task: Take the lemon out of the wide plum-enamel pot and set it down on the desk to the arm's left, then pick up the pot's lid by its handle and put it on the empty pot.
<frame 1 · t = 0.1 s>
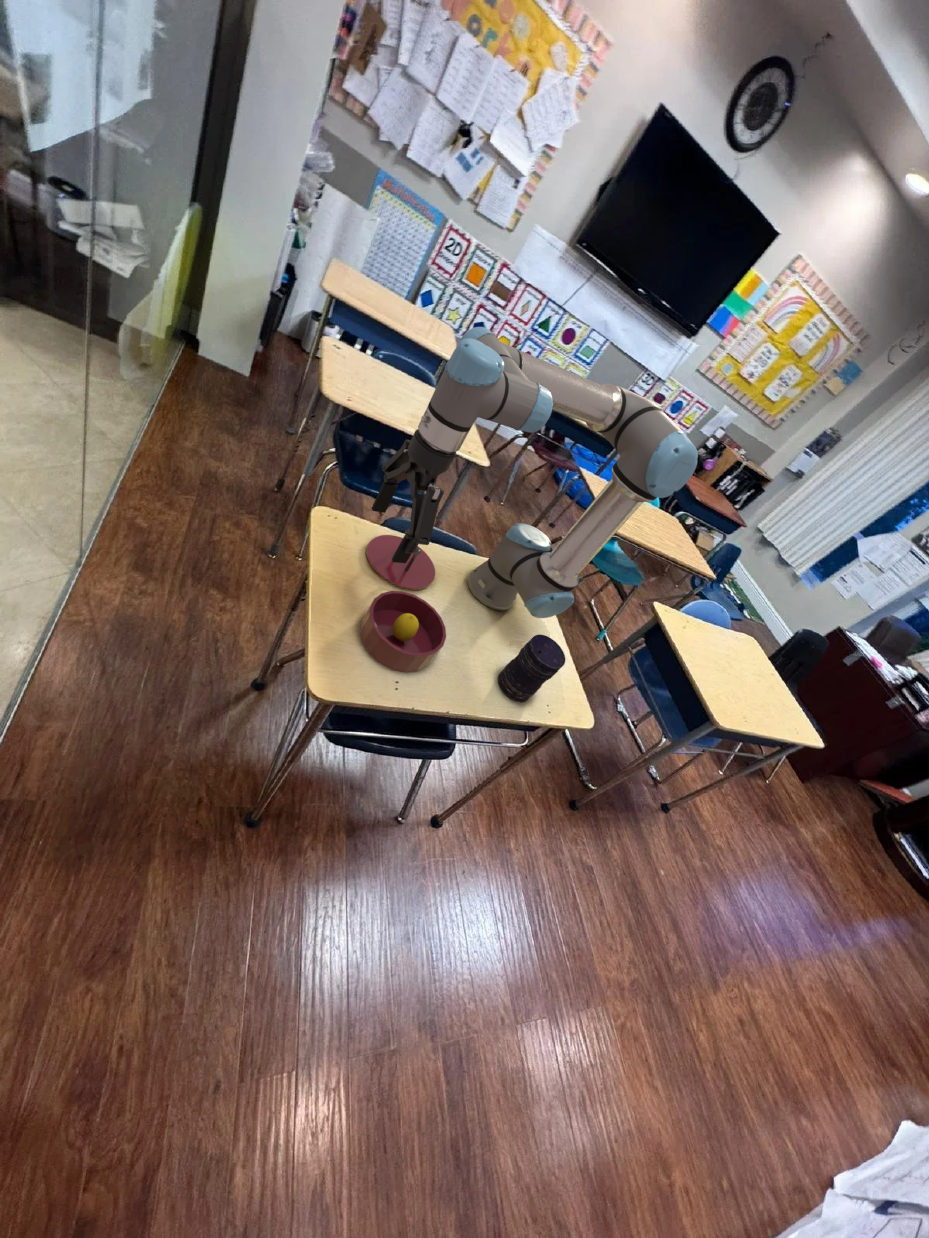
hand: (388, 535, 97), 28 cm above the table, tool pointing down, fingers open, 13 cm apart
storage jar: (513, 686, 129), on the table
pot: (398, 638, 120), on the table
lemon: (398, 638, 120), resting on pot
lid: (401, 562, 138), point 1 cm above the table
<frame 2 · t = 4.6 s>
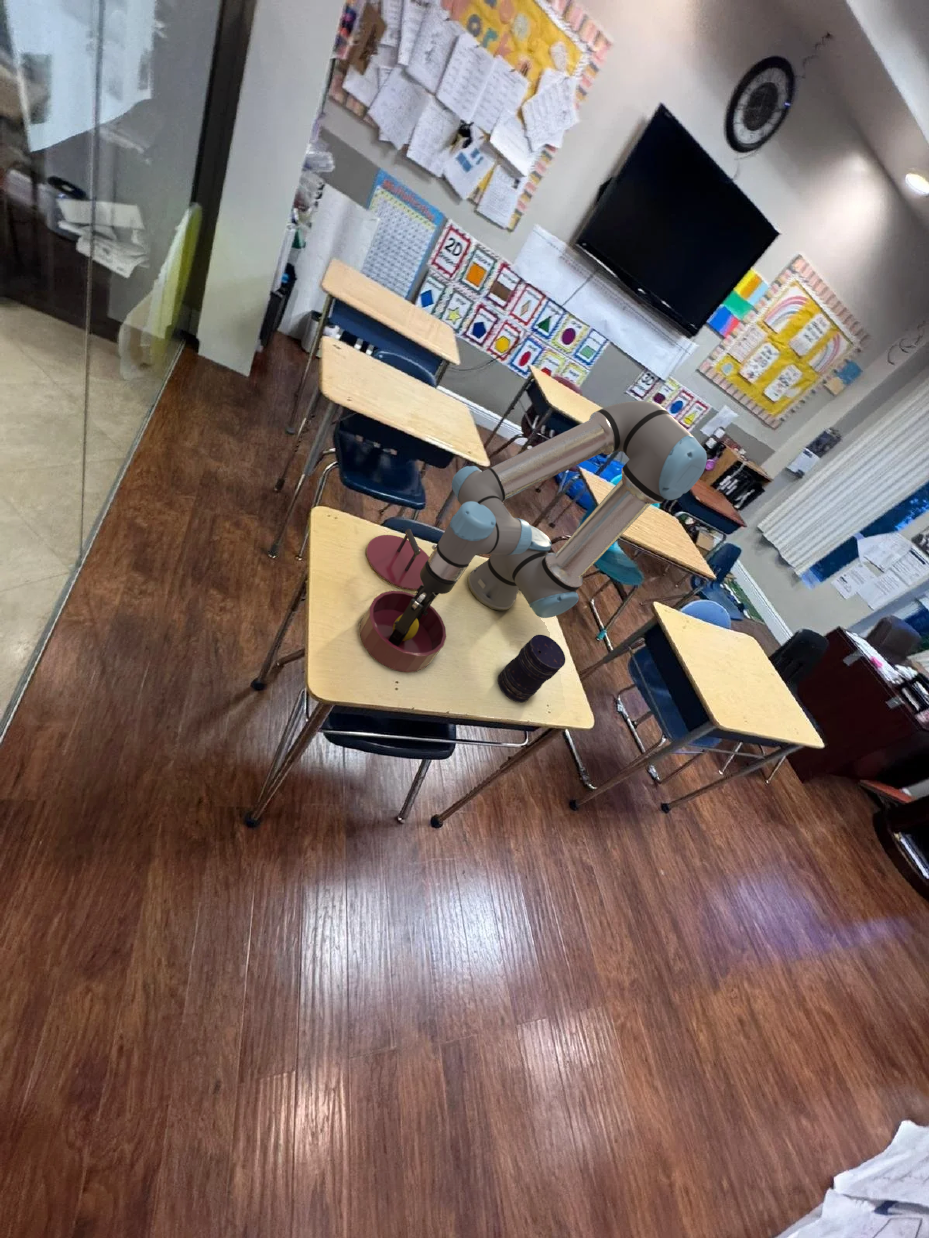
hand: (399, 636, 119), 1 cm above the table, tool pointing down, fingers closed on lemon, 5 cm apart
lemon: (398, 638, 120), resting on pot, touching gripper
everything else where it was.
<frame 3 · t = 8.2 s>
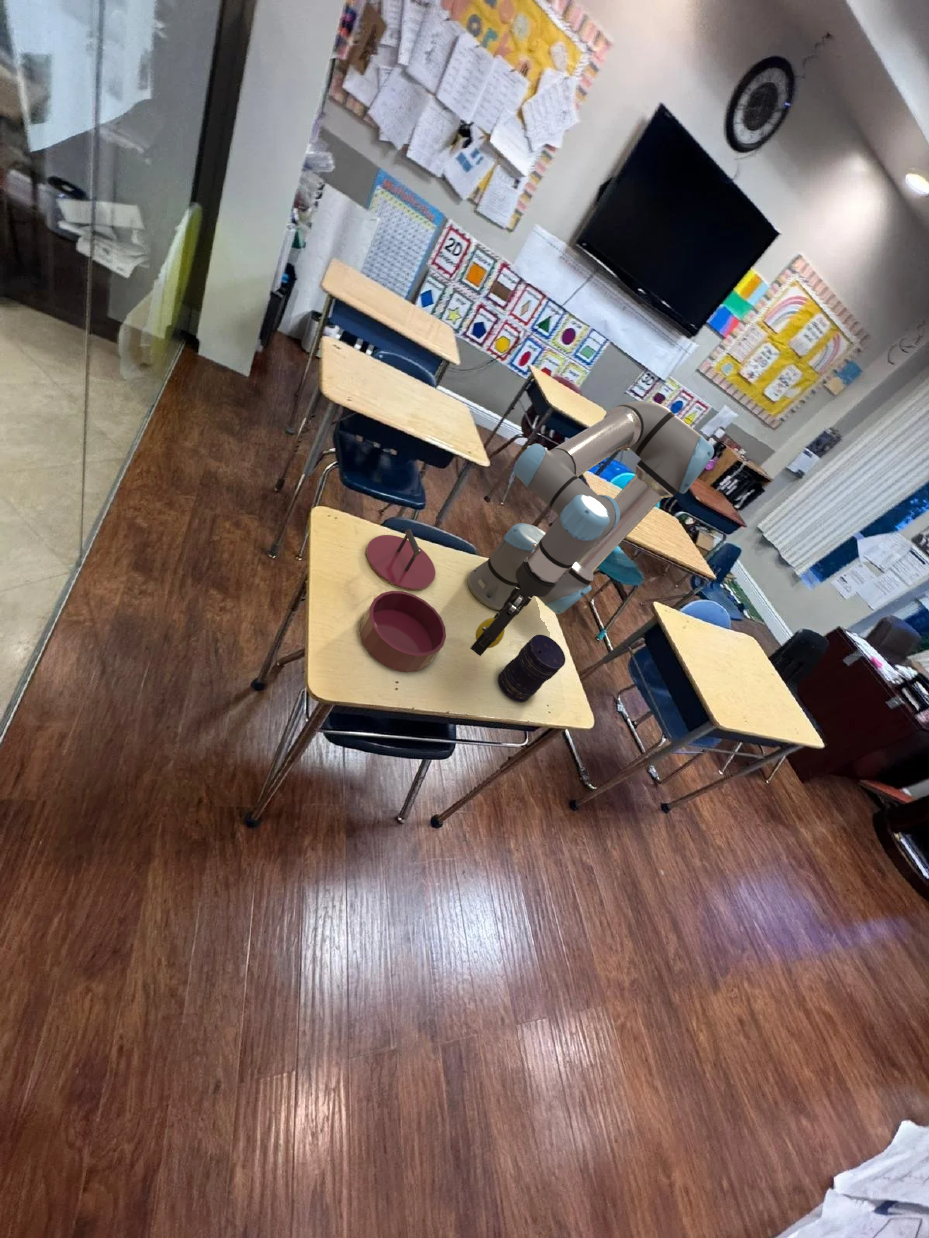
hand: (481, 643, 110), 15 cm above the table, tool pointing down, fingers closed on lemon, 5 cm apart
lemon: (480, 645, 110), point 14 cm above the table, touching gripper
everything else where it was.
when the fingers open (0 cm above the table, at t = 11.7 s): lemon stays where it is, on the table.
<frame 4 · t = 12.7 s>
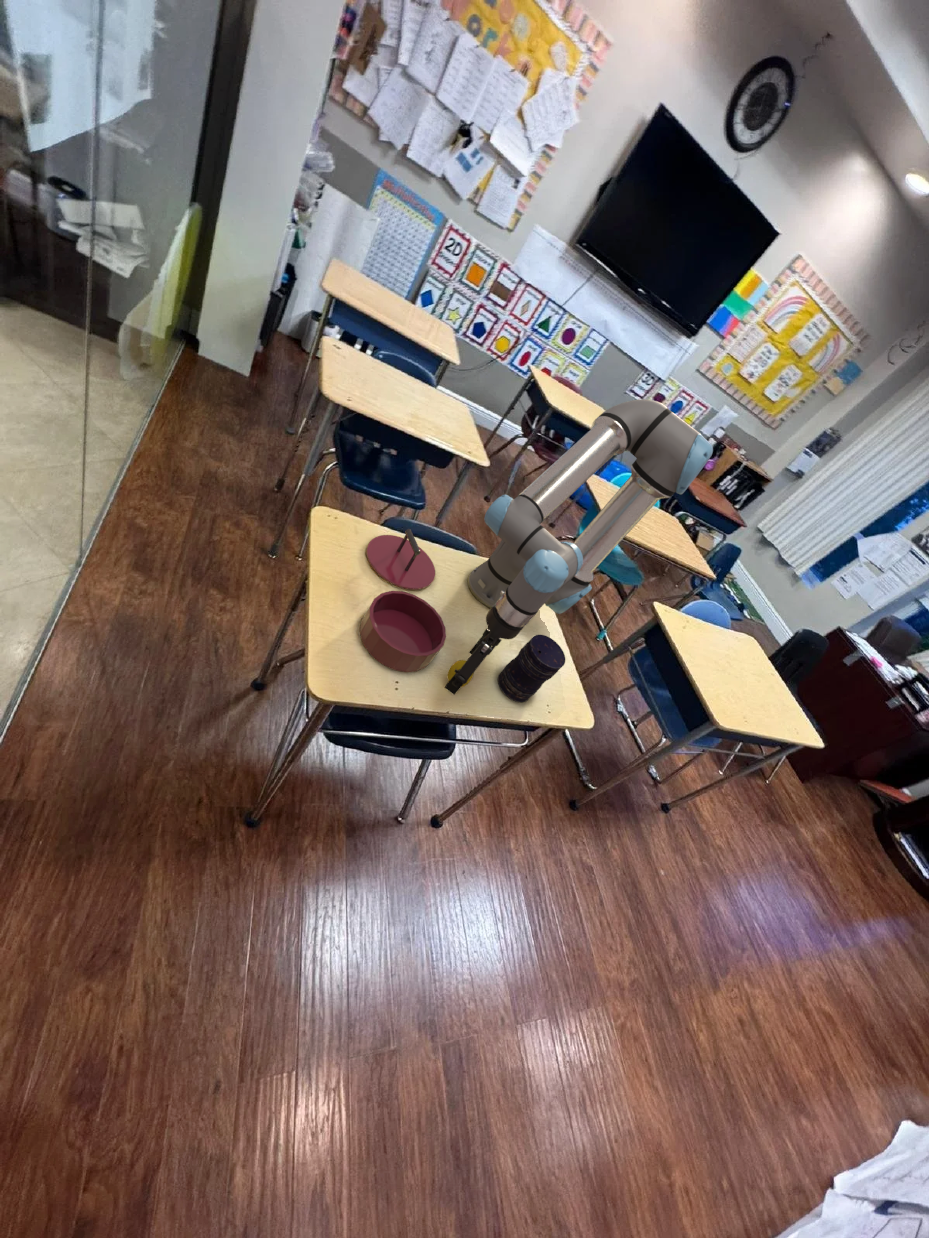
hand: (462, 672, 117), 4 cm above the table, tool pointing down, fingers open, 13 cm apart
lemon: (452, 683, 119), on the table
everything else where it was.
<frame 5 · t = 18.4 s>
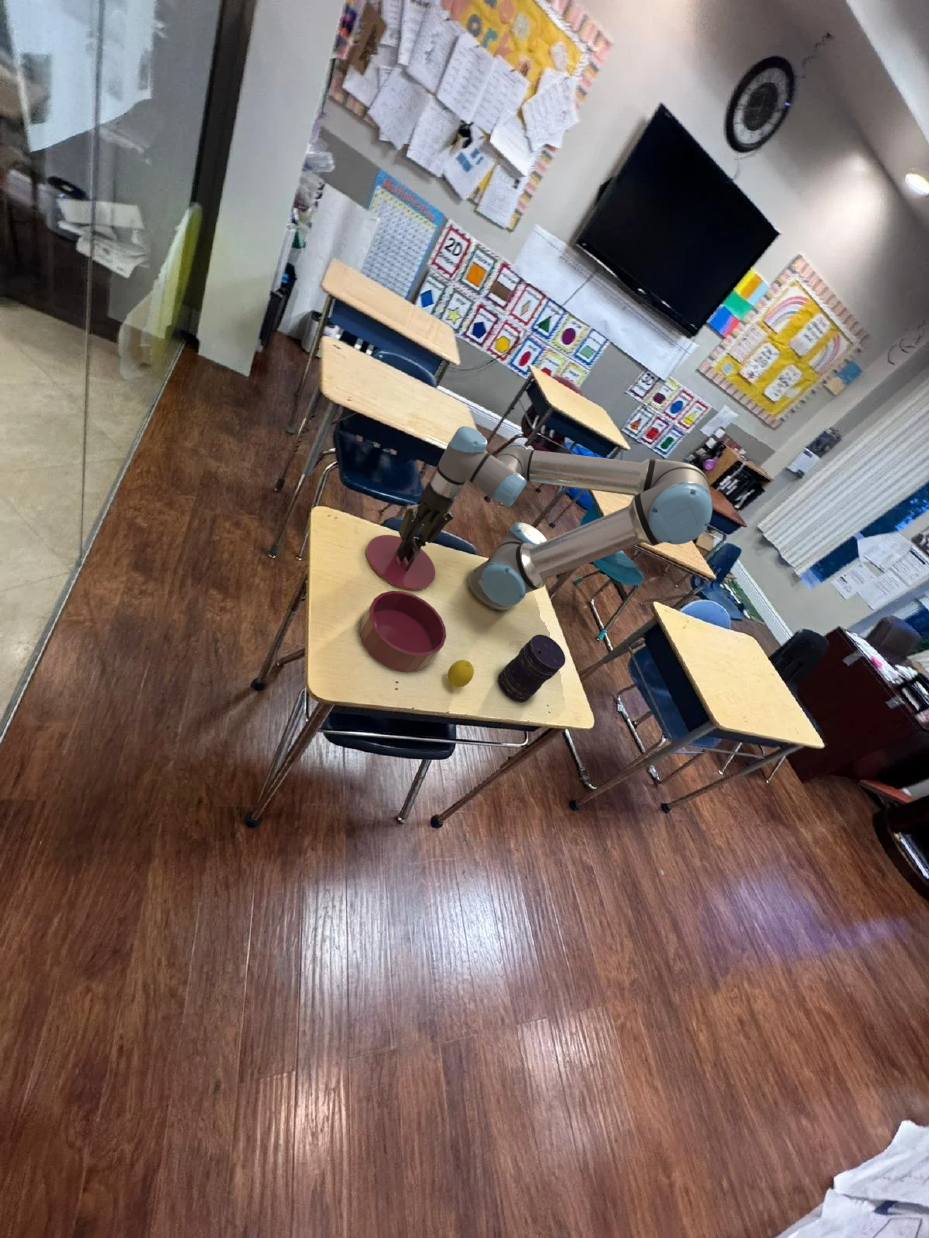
hand: (403, 558, 137), 2 cm above the table, tool pointing down, fingers closed on lid, 2 cm apart
lid: (401, 562, 138), point 1 cm above the table, touching gripper
everything else where it was.
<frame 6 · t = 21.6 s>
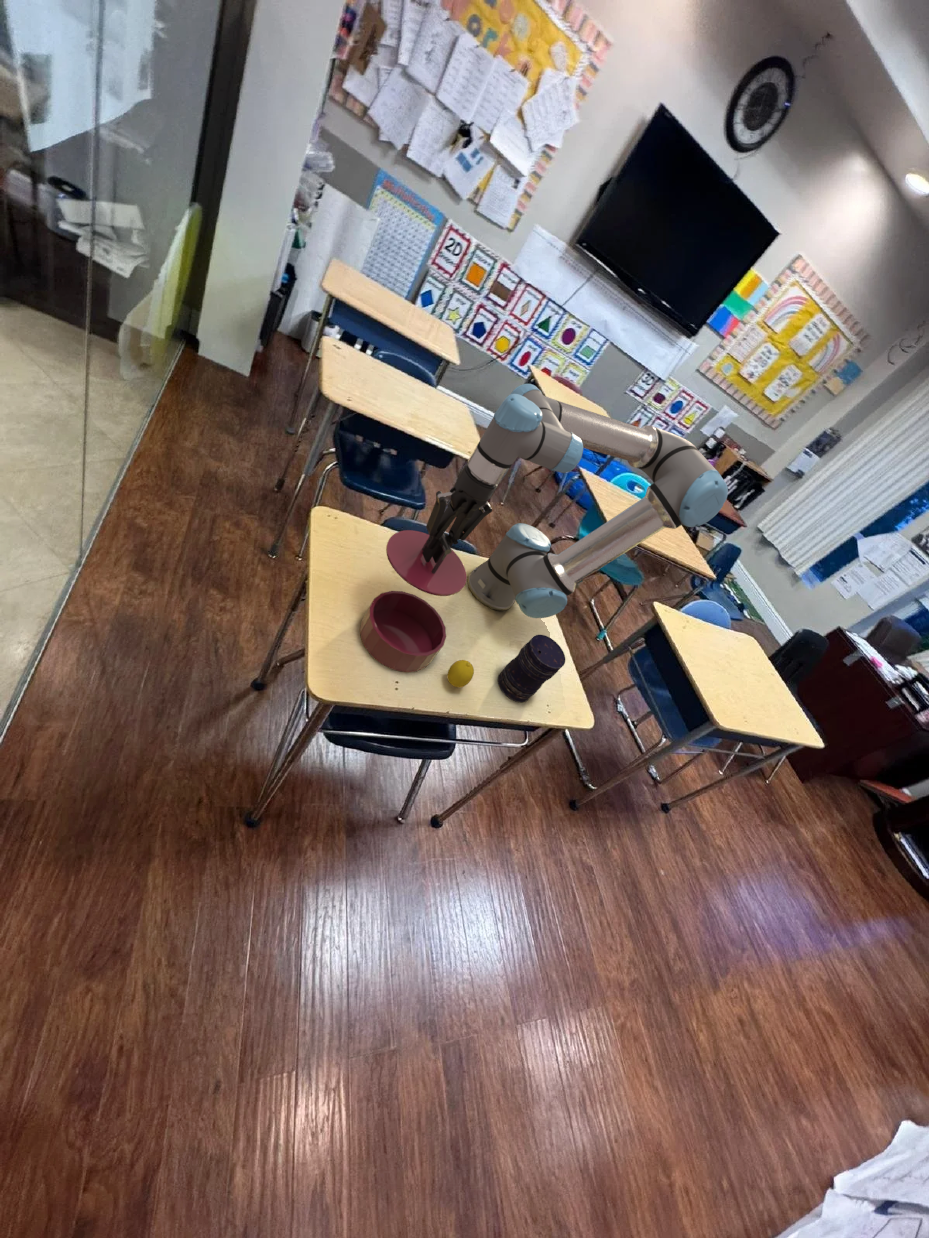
hand: (430, 558, 114), 19 cm above the table, tool pointing down, fingers closed on lid, 2 cm apart
lid: (427, 562, 115), point 17 cm above the table, touching gripper
everything else where it was.
when the fingers open (8 cm above the table, at t = 24.9 s): lid stays where it is, resting on pot.
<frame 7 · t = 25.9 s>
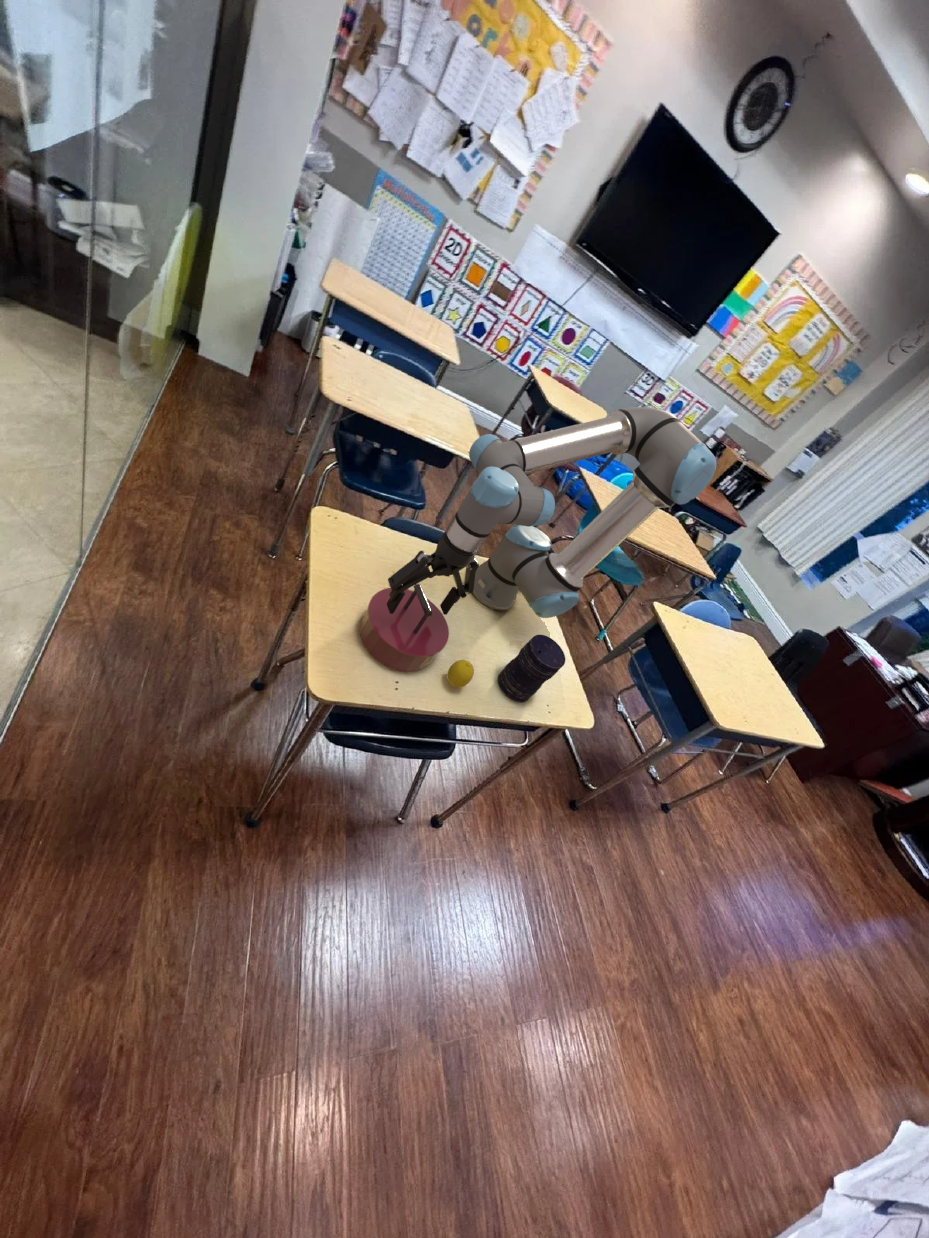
hand: (417, 609, 113), 11 cm above the table, tool pointing down, fingers open, 13 cm apart
lid: (408, 621, 116), point 6 cm above the table, touching pot
everything else where it was.
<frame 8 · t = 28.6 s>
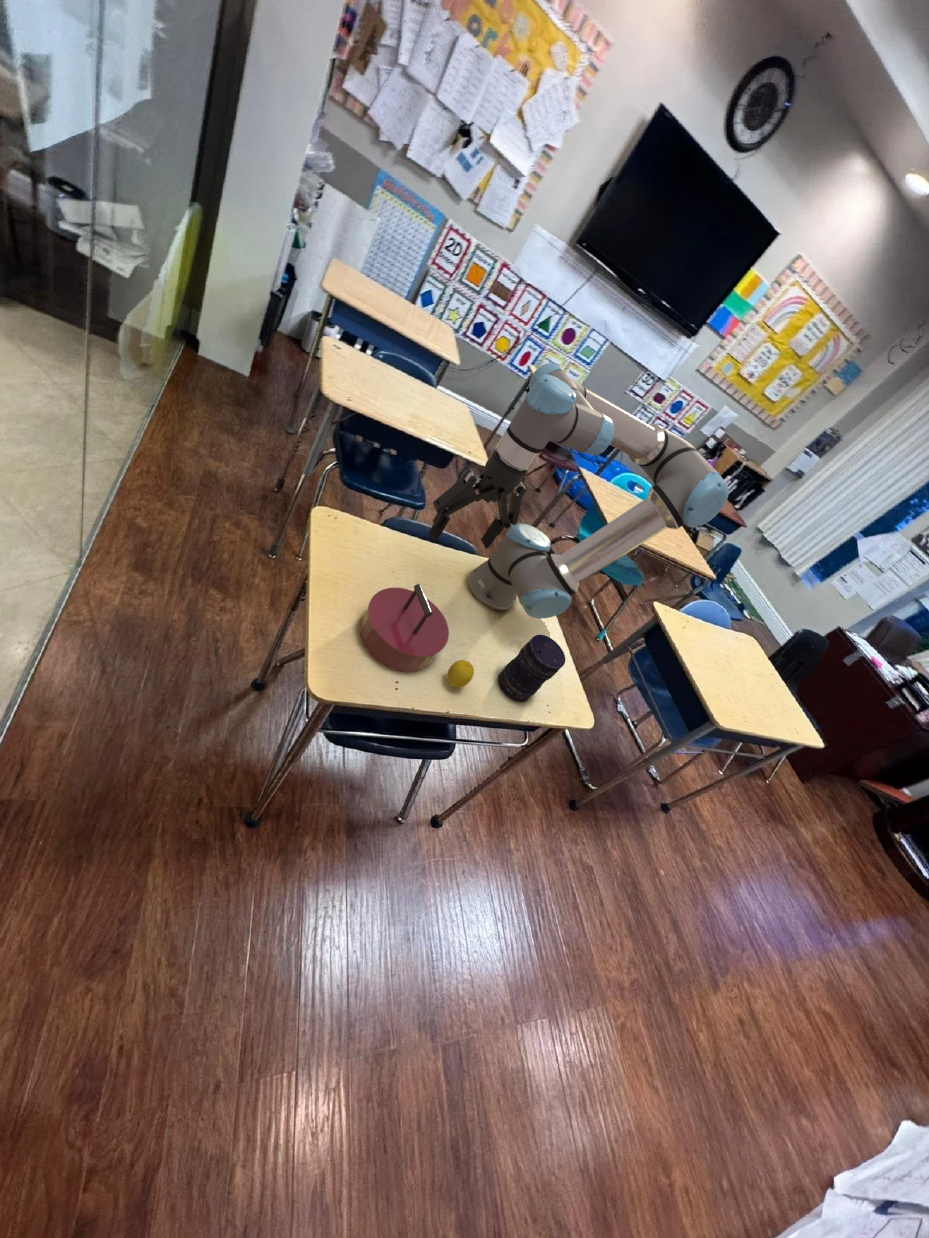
hand: (459, 541, 109), 27 cm above the table, tool pointing down, fingers open, 13 cm apart
nothing on the table moved.
at the end: lemon inside the target area (0.1 cm from its centre), on the table; lid 0.0 cm off-centre on the pot, point 6.4 cm above the pot's base; lid tilted 0° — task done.
